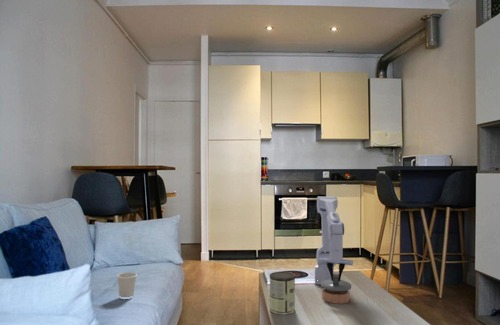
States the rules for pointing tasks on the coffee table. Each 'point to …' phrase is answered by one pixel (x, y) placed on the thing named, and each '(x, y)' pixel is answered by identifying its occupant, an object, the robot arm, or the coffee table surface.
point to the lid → (336, 284)
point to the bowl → (335, 296)
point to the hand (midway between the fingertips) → (335, 280)
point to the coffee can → (282, 293)
